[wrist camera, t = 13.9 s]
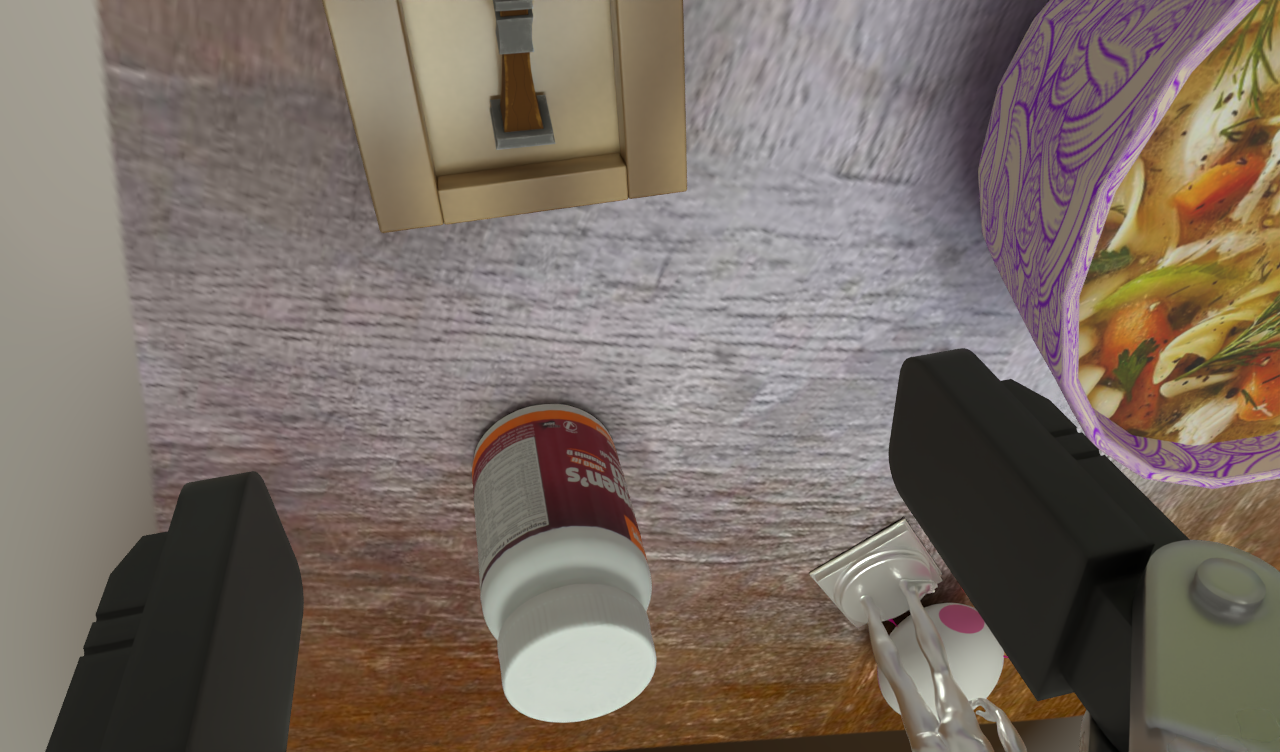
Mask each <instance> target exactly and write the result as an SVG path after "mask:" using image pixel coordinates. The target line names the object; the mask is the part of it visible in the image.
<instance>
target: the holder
mask: <svg viewBox="0 0 1280 752" xmlns="http://www.w3.org/2000/svg"><path fill="white" fill-rule="evenodd" d="M322 2H323V6H324V10H325V14H326V18H327V22H328V26H329V30H330V34H331V38H332V42H333V46H334V50H335V54H336V58H337V62H338V66H339V70H340V74H341V78H342V82H343V86H344V90H345V94H346V98H347V102H348V106H349V110H350V114H351V118H352V122H353V126H354V129H355V133H356V137H357V141H358V145H359V149H360V153H361V157H362V161H363V165H364V169H365V173H366V177H367V181H368V185H369V189H370V193H371V197H372V201H373V205H374V209H375V213H376V217H377V221H378V225H379V229H380V231H381V233H386V232H393V231H401V230H408V229H415V228H423V227H430V226H437V225H442V224H443V223H444V224H453V223H461V222H468V221H475V220H483V219H490V218H497V217H504V216H512V215H519V214H526V213H533V212H541V211H548V210H555V209H562V208H570V207H577V206H584V205H591V204H599V203H606V202H613V201H621V200H627V199H628V197H629V198H630V199H633V198H640V197H647V196H655V195H662V194H669V193H676V192H684V191H686V190H687V158H686V111H685V63H684V16H683V0H532V4H533V9H532V13H533V22H532V43H533V48H534V52H530V64H531V72H532V78H533V83H534V89H535V93H536V96H537V95H546V100H547V104H548V109H549V114H550V119H551V123H552V128H553V133H554V138H555V143H556V144H551V145H541V146H531V147H521V148H511V149H501V150H496V145H495V138H494V132H493V126H492V120H491V114H490V107H491V102H490V100H494V99H501V92H502V54H501V55H500V54H499V49H498V43H497V38H496V32H495V31H496V16H495V10H494V5H493V0H322Z"/></svg>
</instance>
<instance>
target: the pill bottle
mask: <svg viewBox="0 0 1280 752" xmlns="http://www.w3.org/2000/svg"><path fill="white" fill-rule="evenodd" d="M472 478H473V492H474V507H475V520H476V534H477V546H478V560H479V576H480V590H481V603H482V609H483V614H484V618H485V621H486V624H487V626H488V628H489V630H490V631H491V633H492V634H493V636H494V637H495V638H496V639H497V640H498V656H499V661H500V667H501V676H502V685H503V689H504V693H505V695H506V697H507V699H508V701H509V702H510V704H511V705H512V706H513V707H514V708H515V709H517V710H518V711H519V712H521V713H522V714H524V715H527V716H528V717H531V718H534V719H537V720H542V721H548V722H576V721H583V720H588V719H592V718H596V717H599V716H602V715H605V714H608V713H610V712H613V711H615V710H617V709H618V708H620V707H622V706H624V705H626V704H627V703H629V702H630V701H632V700H633V699H634V698H635V697H637V696H638V695H639V694H640V693H641V692H642V691H643V690H644V689H645V688H646V686H647V685H648V684H649V682H650V680H651V678H652V676H653V674H654V671H655V668H656V652H655V648H654V644H653V640H652V635H651V631H650V624H649V620H648V616H647V613H646V610H647V608H648V605H649V602H650V598H651V590H652V582H651V574H650V570H649V566H648V563H647V559H646V554H645V551H644V547H643V544H642V540H641V536H640V532H639V529H638V525H637V522H636V519H635V514H634V510H633V507H632V503H631V500H630V497H629V493H628V490H627V486H626V482H625V479H624V475H623V472H622V469H621V466H620V462H619V459H618V455H617V452H616V449H615V446H614V443H613V440H612V438H611V436H610V434H609V432H608V431H607V429H606V428H605V427H604V426H603V424H602V423H601V422H600V421H598V420H597V419H596V418H595V417H593V416H592V415H590V414H588V413H587V412H585V411H583V410H580V409H578V408H575V407H572V406H569V405H562V404H542V405H535V406H530V407H526V408H523V409H520V410H517V411H515V412H513V413H511V414H509V415H507V416H505V417H503V418H502V419H500V420H499V421H497V422H496V423H495V424H494V425H493V426H492V427H491V428H490V429H489V430H488V431H487V432H486V433H485V434H484V435H483V437H482V438H481V440H480V442H479V443H478V445H477V448H476V450H475V454H474V458H473V465H472Z"/></svg>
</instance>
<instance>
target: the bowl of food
mask: <svg viewBox="0 0 1280 752" xmlns="http://www.w3.org/2000/svg"><path fill="white" fill-rule="evenodd" d="M978 178H979V193H980V208H981V223H982V234H983V236H984V239H985V241H986V244H987V246H988V248H989V251H990V253H991V256H992V258H993V261H994V263H995V265H996V267H997V269H998V271H999V273H1000V275H1001V277H1002V279H1003V281H1004V283H1005V285H1006V287H1007V289H1008V291H1009V293H1010V295H1011V297H1012V299H1013V301H1014V303H1015V305H1016V307H1017V309H1018V311H1019V313H1020V315H1021V317H1022V318H1023V320H1024V322H1025V324H1026V326H1027V328H1028V330H1029V332H1030V334H1031V336H1032V338H1033V340H1034V342H1035V344H1036V346H1037V347H1038V349H1039V351H1040V353H1041V354H1042V356H1043V358H1044V360H1045V362H1046V363H1047V365H1048V367H1049V369H1050V370H1051V372H1052V374H1053V376H1054V377H1055V379H1056V381H1057V383H1058V385H1059V387H1060V389H1061V391H1062V393H1063V395H1064V397H1065V398H1066V400H1067V402H1068V404H1069V406H1070V408H1071V410H1072V412H1073V413H1074V415H1075V417H1076V419H1077V420H1078V422H1079V424H1080V426H1081V427H1082V429H1083V431H1084V433H1085V434H1086V436H1087V438H1088V439H1089V440H1090V441H1091V442H1092V443H1093V444H1094V445H1095V446H1096V447H1097V448H1098V449H1099V450H1101V451H1103V452H1104V453H1106V454H1107V455H1109V456H1110V457H1112V458H1113V459H1115V460H1116V461H1118V462H1119V463H1121V464H1122V465H1124V466H1125V467H1127V468H1129V469H1130V470H1132V471H1133V472H1135V473H1136V474H1138V475H1139V476H1141V477H1142V478H1144V479H1150V480H1156V481H1163V482H1170V483H1177V484H1184V485H1191V486H1198V487H1205V488H1212V489H1214V488H1220V487H1227V486H1233V485H1240V484H1246V483H1253V482H1259V481H1266V480H1272V479H1279V478H1280V0H1049V2H1048V3H1047V4H1046V5H1045V6H1044V7H1043V9H1042V10H1041V11H1040V12H1039V13H1038V14H1037V16H1036V17H1035V18H1034V19H1033V21H1032V23H1031V25H1030V27H1029V29H1028V30H1027V32H1026V34H1025V36H1024V38H1023V40H1022V42H1021V44H1020V46H1019V47H1018V49H1017V51H1016V53H1015V55H1014V57H1013V59H1012V61H1011V63H1010V64H1009V66H1008V68H1007V70H1006V72H1005V74H1004V76H1003V78H1002V80H1001V81H1000V83H999V85H998V88H997V92H996V96H995V100H994V105H993V109H992V113H991V117H990V121H989V125H988V129H987V133H986V137H985V141H984V145H983V149H982V154H981V159H980V164H979V168H978Z"/></svg>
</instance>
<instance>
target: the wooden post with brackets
mask: <svg viewBox="0 0 1280 752" xmlns="http://www.w3.org/2000/svg"><path fill="white" fill-rule="evenodd" d="M493 5H494V10H495V16H496V31H495V32H496V38H497V43H498V49H499V54H500V55H501V54H502V92H501V99H494V100H490V102H491V107H490V114H491V120H492V126H493V132H494V138H495V145H496V150H501V149H511V148H521V147H531V146H541V145H551V144H556V143H555V138H554V133H553V128H552V123H551V119H550V114H549V109H548V104H547V100H546V95H537V96H536V93H535V89H534V83H533V78H532V72H531V64H530V52H534V48H533V43H532V22H533V13H532V9H533V4H532V0H493Z"/></svg>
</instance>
